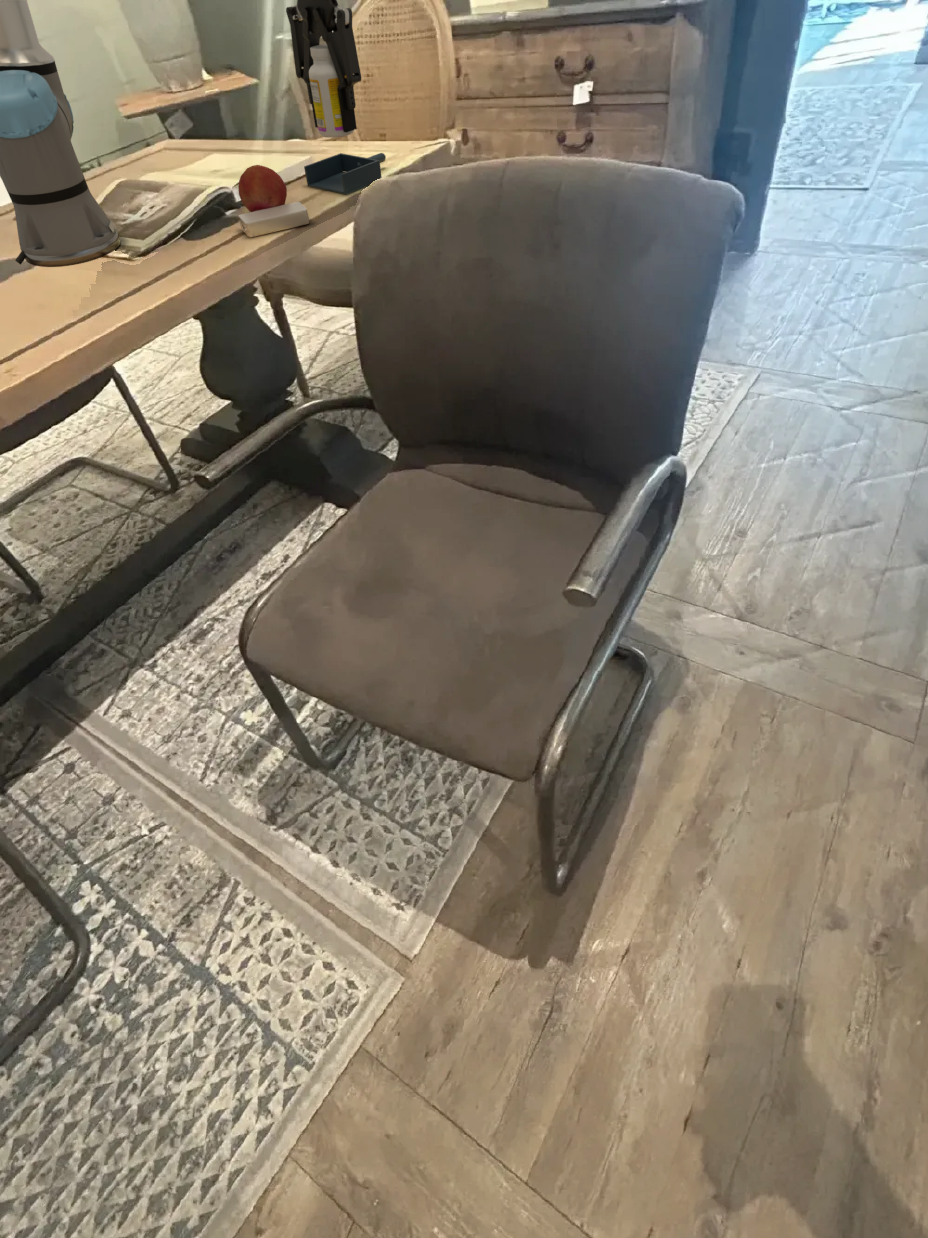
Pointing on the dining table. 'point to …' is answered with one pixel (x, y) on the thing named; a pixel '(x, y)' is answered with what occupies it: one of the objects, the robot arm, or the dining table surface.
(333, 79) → the supplement bottle
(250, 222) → the multiport hub
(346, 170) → the scoop
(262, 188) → the fruit
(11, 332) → the dining table surface
